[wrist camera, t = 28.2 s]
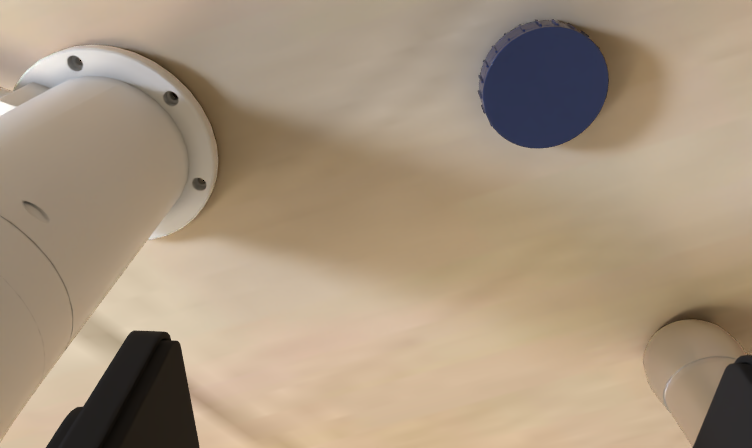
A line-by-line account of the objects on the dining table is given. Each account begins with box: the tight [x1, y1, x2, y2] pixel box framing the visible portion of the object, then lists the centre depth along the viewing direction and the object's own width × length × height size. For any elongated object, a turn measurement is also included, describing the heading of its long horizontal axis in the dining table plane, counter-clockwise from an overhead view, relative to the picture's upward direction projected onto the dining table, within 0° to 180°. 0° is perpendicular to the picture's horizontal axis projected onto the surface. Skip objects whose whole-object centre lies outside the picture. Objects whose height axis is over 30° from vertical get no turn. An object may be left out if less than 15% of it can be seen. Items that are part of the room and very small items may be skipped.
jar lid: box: [478, 19, 609, 148], centre depth 33 cm, size 7×7×2 cm
